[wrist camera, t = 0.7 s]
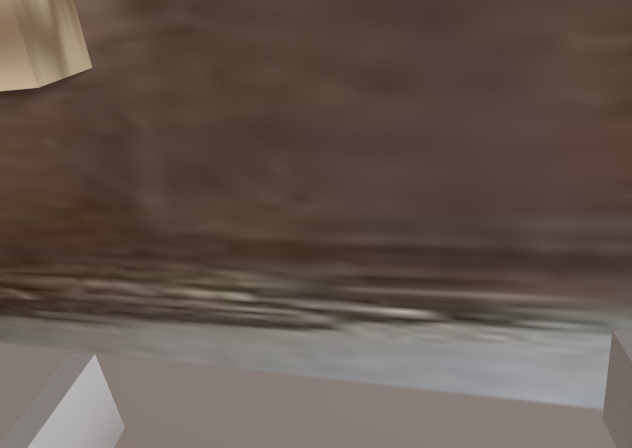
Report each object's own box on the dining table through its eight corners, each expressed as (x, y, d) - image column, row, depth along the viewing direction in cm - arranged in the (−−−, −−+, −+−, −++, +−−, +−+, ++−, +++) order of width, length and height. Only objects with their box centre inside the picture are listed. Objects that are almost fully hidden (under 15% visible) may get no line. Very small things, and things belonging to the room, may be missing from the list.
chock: (0, -31, 32) (-76, -29, 27) (63, -39, 31) (-2, -39, 26) (33, 73, 34) (-30, 94, 29) (92, 67, 34) (38, 87, 29)
